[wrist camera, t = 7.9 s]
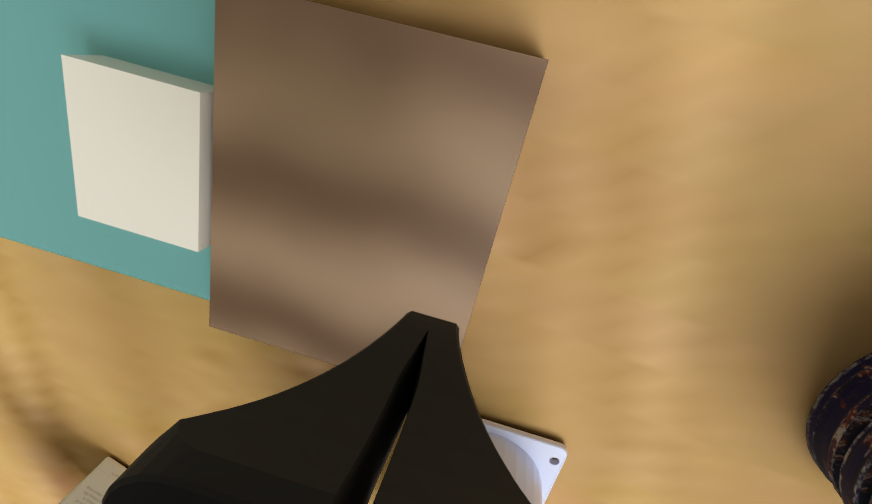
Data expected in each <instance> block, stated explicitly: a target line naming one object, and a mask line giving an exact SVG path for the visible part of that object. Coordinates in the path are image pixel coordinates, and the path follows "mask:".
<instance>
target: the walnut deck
mask: <svg viewBox="0 0 872 504" xmlns="http://www.w3.org/2000/svg"><path fill="white" fill-rule="evenodd" d="M547 64H548V60H547V59H543V58H539V57H535V56H531V55H527V54H523V53H519V52H515V51H511V50H507V49H503V48H498V47H494V46H490V45H486V44H482V43H478V42H474V41H470V40H466V39H462V38H458V37H454V36H450V35H446V34H442V33H438V32H434V31H429V30H425V29H421V28H417V27H413V26H409V25H405V24H401V23H397V22H393V21H389V20H385V19H381V18H377V17H373V16H369V15H365V14H360V13H356V12H352V11H348V10H344V9H340V8H336V7H332V6H328V5H324V4H320V3H316V2H312V1H308V0H215V42H214V97H213V153H212V208H211V263H210V319H209V326H210V327H213V328H217V329H220V330H223V331H226V332H230V333H233V334H236V335H239V336H243V337H246V338H249V339H252V340H256V341H259V342H262V343H265V344H269V345H272V346H275V347H278V348H281V349H285V350H288V351H291V352H294V353H298V354H301V355H304V356H307V357H311V358H314V359H317V360H320V361H324V362H327V363H330V364H333V365H337V366H338V365H339V364H341V363H343V362H344V361H346V360H348V359H349V358H351V357H352V356H354V355H355V354H357V353H358V352H360V351H361V350H363V349H364V348H366V347H367V346H369V345H370V344H371V343H373V342H374V341H375V340H376V339H378V338H379V337H380V336H382V335H383V334H384V333H386V332H387V331H388V330H389V329H390V328H392V327H393V326H394V325H395V324H396V323H397V322H398V321H399V320H400V319H402V318H403V317H404V316H405V315H406V313H408V312H410V311H414V312H418V313H421V314H425V315H428V316H432V317H435V318H439V319H442V320H446V321H449V322H453V323H456V324H457V326H458V327H459V342H460V349H461V347H462V343H463V340H464V337H465V333H466V330H467V327H468V324H469V320H470V317H471V314H472V310H473V307H474V304H475V301H476V297H477V294H478V291H479V287H480V284H481V281H482V278H483V274H484V271H485V268H486V264H487V261H488V258H489V254H490V251H491V248H492V245H493V241H494V238H495V235H496V231H497V228H498V225H499V222H500V218H501V215H502V212H503V208H504V205H505V202H506V199H507V195H508V192H509V189H510V185H511V182H512V179H513V175H514V172H515V169H516V166H517V162H518V159H519V156H520V152H521V149H522V146H523V143H524V139H525V136H526V133H527V129H528V126H529V123H530V120H531V116H532V113H533V110H534V106H535V103H536V100H537V96H538V93H539V90H540V87H541V83H542V80H543V77H544V73H545V70H546V67H547Z"/></svg>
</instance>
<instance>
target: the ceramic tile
mask: <svg viewBox="0 0 872 504" xmlns="http://www.w3.org/2000/svg"><path fill="white" fill-rule="evenodd" d="M61 59H62V68H63V78H64V87H65V96H66V106H67V115H68V124H69V134H70V143H71V153H72V162H73V171H74V181H75V190H76V200H77V209H78V216H80V217H84V218H87V219H90V220H93V221H97V222H100V223H103V224H107V225H110V226H113V227H117V228H120V229H123V230H127V231H130V232H133V233H136V234H140V235H143V236H146V237H150V238H153V239H156V240H160V241H163V242H166V243H169V244H173V245H176V246H179V247H183V248H186V249H189V250H193V251H196V252H199V251H201V250H203V249H205V248H206V247H208V246H210V245H211V208H212V153H213V97H214V85H210V84H206V83H203V82H199V81H195V80H192V79H188V78H185V77H181V76H177V75H174V74H170V73H166V72H163V71H159V70H155V69H152V68H148V67H144V66H141V65H137V64H133V63H130V62H126V61H122V60H119V59H115V58H111V57H108V56H104V55H67V54H61Z"/></svg>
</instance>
